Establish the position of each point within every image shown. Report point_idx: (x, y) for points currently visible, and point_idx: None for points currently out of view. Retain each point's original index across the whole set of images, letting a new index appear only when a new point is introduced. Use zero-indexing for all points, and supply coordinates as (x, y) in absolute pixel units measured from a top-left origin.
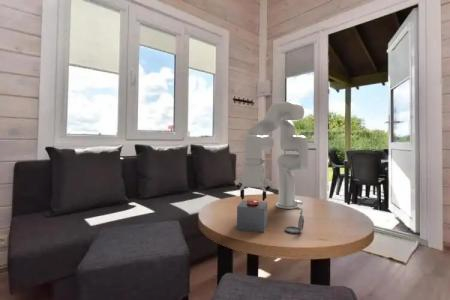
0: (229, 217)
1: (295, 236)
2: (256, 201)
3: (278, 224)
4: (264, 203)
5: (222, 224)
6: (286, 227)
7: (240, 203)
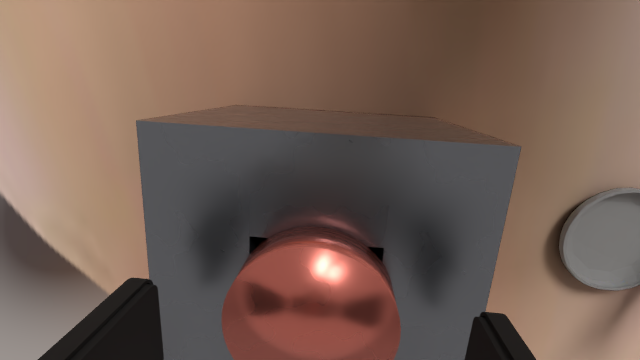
0: (110, 19)
1: (601, 317)
2: (363, 357)
3: (527, 112)
4: (469, 232)
5: (120, 198)
6: (579, 214)
7: (158, 289)
